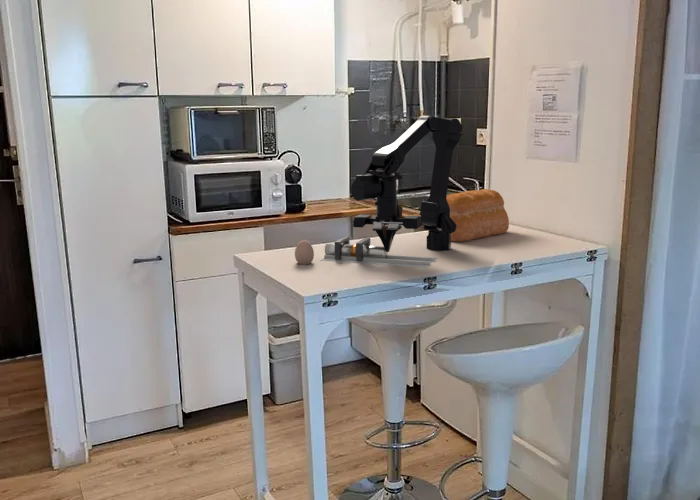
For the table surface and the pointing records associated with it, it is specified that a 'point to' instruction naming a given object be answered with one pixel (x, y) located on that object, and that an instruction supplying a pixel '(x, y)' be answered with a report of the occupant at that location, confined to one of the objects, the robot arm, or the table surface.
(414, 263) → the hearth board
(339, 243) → the collar
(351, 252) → the tube
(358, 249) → the dark gray arch
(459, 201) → the bread
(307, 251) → the egg
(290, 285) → the table surface
